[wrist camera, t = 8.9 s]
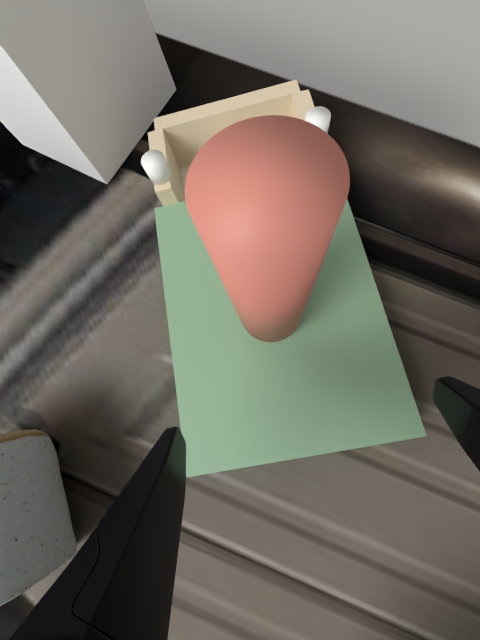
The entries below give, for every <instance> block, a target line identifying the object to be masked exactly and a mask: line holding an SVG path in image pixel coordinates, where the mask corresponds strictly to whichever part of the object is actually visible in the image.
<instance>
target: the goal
mask: <svg viewBox="0 0 480 640" xmlns="http://www.w3.org/2000/svg"><path fill="white" fill-rule="evenodd" d="M267 115H282V116H289V117H294V118H298V119H302V120H304V121H307V122H310V123H312V124H314V125H316V126H317V127H319V128H321V129H322V130H323V131H325V132H326V133H328V129H329V124H330V119H331V113H330V111H329V110H328V109H327V108H325V107H321V106H318V107H314V104H313V101H312V98H311V95H310V92H309V89H308V90H304V91H301V92H300V89H299V86H298V83H297V80H294V81H290V82H286V83H283V84H279V85H275V86H272V87H268V88H264V89H261V90H257V91H253V92H249V93H246V94H242V95H238V96H235V97H231V98H227V99H224V100H220V101H216V102H213V103H209V104H205V105H202V106H198V107H194V108H191V109H187V110H183V111H180V112H176V113H172V114H168V115H165V116H161V117H157V118H154V126H155V131H152V132H148V140H149V148H150V151H148V152H146V153H145V154H144V155H143V156H142V158H141V164H142V166H143V168H144V170H145V171H146V173H147V175H148V176H149V178H150V180H151V181H152V183H153V184H154V188H155V193H156V195H157V196H158V198H159V200H160V201H161V203H162V204H163V206H167V205H171V204H176V203H179V202H182V201H186V200H185V181H186V177H187V173H188V170H189V167H190V165H191V163H192V161H193V159H194V157H195V156H196V154H197V153H198V151H199V150H200V149H201V147H202V146H203V145H204V144H205V143H206V142H207V141H208V140H209V139H210V138H212V137H213V136H214V135H215V134H217V133H218V132H220V131H221V130H223V129H224V128H226V127H228V126H230V125H232V124H234V123H237V122H239V121H242V120H245V119H249V118H253V117H258V116H267Z"/></svg>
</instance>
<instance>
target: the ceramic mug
mask: <svg viewBox="0 0 480 640" xmlns="http://www.w3.org/2000/svg"><path fill="white" fill-rule="evenodd" d="M76 547H77V546H76V539H75V536H74V532H73V528H72V523H71V518H70V512H69V508H68V504H67V499H66V495H65V491H64V487H63V483H62V478H61V474H60V468H59V462H58V458H57V454H56V450H55V448H54V445H53V443H52V440H51V439H50V437H49V436H48V434H46V433H45V432H42V431H39V430H36V429H32V430H21V431H14V432H9V433H4V434H0V606H1V605H3V604H5V603H7V602H9V601H10V600H12V599H14V598H15V597H17V596H18V595H20V594H21V593H23V592H24V591H26V590H27V589H29V588H30V587H32V586H33V585H34V584H36V583H37V582H39V581H41V580H42V579H44V578H45V577H46V576H48V575H49V574H50V573H51V572H53V571H54V570H56V569H57V568H59V567H60V566H61V565H62V564H64V563H65V562H66V561H67V560H68V559H70V558H71V556H72V555H73V554H74V553H75V551H76Z"/></svg>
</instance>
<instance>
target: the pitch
mask: <svg viewBox="0 0 480 640" xmlns="http://www.w3.org/2000/svg"><path fill="white" fill-rule="evenodd" d="M154 211H155V219H156V227H157V236H158V244H159V252H160V260H161V269H162V277H163V285H164V293H165V302H166V310H167V318H168V327H169V335H170V343H171V351H172V360H173V368H174V376H175V384H176V393H177V401H178V409H179V418H180V426H181V433H182V435H183V437H184V439H185V442H186V475H187V477H192V476H198V475H203V474H209V473H215V472H221V471H227V470H233V469H239V468H244V467H250V466H256V465H262V464H268V463H274V462H279V461H285V460H291V459H297V458H303V457H309V456H314V455H320V454H326V453H332V452H338V451H344V450H349V449H355V448H361V447H367V446H373V445H379V444H384V443H390V442H396V441H402V440H408V439H414V438H419V437H425V436H426V433H425V430H424V427H423V424H422V421H421V418H420V415H419V412H418V409H417V406H416V403H415V400H414V397H413V394H412V391H411V388H410V385H409V382H408V379H407V376H406V373H405V370H404V367H403V364H402V361H401V358H400V355H399V352H398V349H397V346H396V343H395V340H394V337H393V334H392V331H391V328H390V325H389V322H388V319H387V316H386V313H385V310H384V307H383V304H382V301H381V298H380V295H379V292H378V289H377V286H376V283H375V280H374V277H373V274H372V271H371V268H370V265H369V262H368V259H367V256H366V253H365V250H364V247H363V244H362V241H361V238H360V235H359V233H358V230H357V227H356V224H355V221H354V218H353V215H352V212H351V209H350V206H349V203H348V200H346V203H345V206H344V208H343V211H342V213H341V216H340V219H339V221H338V224H337V226H336V229H335V232H334V234H333V237H332V239H331V242H330V245H329V247H328V250H327V252H326V255H325V258H324V260H323V263H322V266H321V268H320V271H319V273H318V276H317V279H316V281H315V284H314V286H313V289H312V292H311V294H310V297H309V299H308V302H307V305H306V307H305V310H304V312H303V315H302V318H301V320H300V323H299V325H298V327H297V329H296V330H295V331H294V333H292V334H291V335H290V336H289V337H287V338H286V339H284V340H281V341H278V342H264V341H260V340H258V339H256V338H254V337H253V336H251V335H250V334H249V333H248V332H247V331H246V329H245V328H244V326H243V324H242V322H241V320H240V318H239V316H238V314H237V312H236V309H235V307H234V305H233V303H232V301H231V299H230V297H229V295H228V293H227V291H226V289H225V287H224V285H223V283H222V281H221V278H220V276H219V274H218V272H217V270H216V268H215V266H214V264H213V262H212V260H211V258H210V256H209V254H208V252H207V250H206V247H205V245H204V243H203V241H202V239H201V237H200V235H199V233H198V231H197V229H196V227H195V225H194V223H193V221H192V219H191V216H190V214H189V211H188V209H187V205H186V201H182V202H179V203H176V204H171V205H167V206H162V207H158V208H154Z"/></svg>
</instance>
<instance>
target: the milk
mask: <svg viewBox="0 0 480 640" xmlns="http://www.w3.org/2000/svg"><path fill="white" fill-rule="evenodd" d="M175 91H176V87H175V84H174V82H173V79H172V76H171V74H170V71H169V68H168V66H167V63H166V60H165V58H164V55H163V53H162V50H161V47H160V45H159V42H158V39H157V37H156V34H155V31H154V29H153V26H152V24H151V21H150V19H149V16H148V13H147V11H146V8H145V5H144V2H143V0H0V121H1V122H2V123H3V124H4V125H5V126H6V128H7V129H8V130H9V131H10V132H11V133H12V134H13V135H14V136H15V137H16V138H17V139H18V140H19V141H20V142H21V143H22V144H23V145H25V146H27V147H29V148H31V149H33V150H36V151H38V152H40V153H42V154H44V155H46V156H48V157H50V158H53V159H55V160H57V161H59V162H61V163H63V164H65V165H67V166H69V167H72V168H74V169H76V170H78V171H80V172H82V173H84V174H86V175H89V176H91V177H93V178H95V179H97V180H99V181H101V182H103V183H106V184H108V183H109V181H110V180H111V179H112V177H113V176H114V175H115V173H116V172H117V170H118V169H119V168H120V166H121V165H122V164H123V162H124V161H125V159H126V158H127V157H128V155H129V154H130V153H131V151H132V150H133V148H134V147H135V146H136V144H137V143H138V142H139V140H140V139H141V137H142V136H143V135H144V133H145V132H146V131H147V129H148V128H149V126H150V125H151V124H152V122H153V121H154V118H156V117H157V115H158V114H159V113H160V111H161V110H162V109H163V107H164V106H165V104H166V103H167V102H168V100H169V99H170V98H171V96H172V95H173V93H174V92H175Z"/></svg>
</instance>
